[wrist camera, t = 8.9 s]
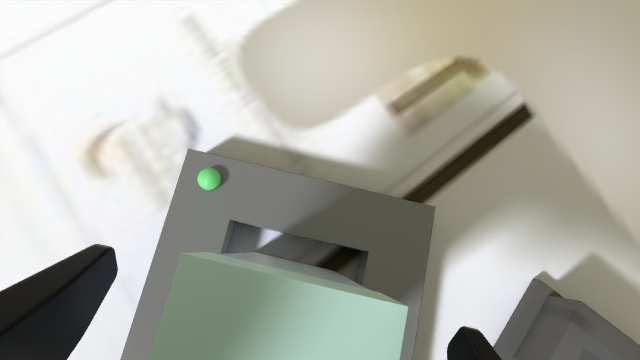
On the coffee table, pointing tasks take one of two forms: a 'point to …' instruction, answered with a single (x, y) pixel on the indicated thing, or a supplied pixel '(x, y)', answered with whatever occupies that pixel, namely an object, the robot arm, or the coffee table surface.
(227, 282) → the plug
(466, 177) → the coffee table surface
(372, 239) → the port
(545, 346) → the corner stop plate
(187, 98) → the coffee table surface
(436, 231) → the coffee table surface
